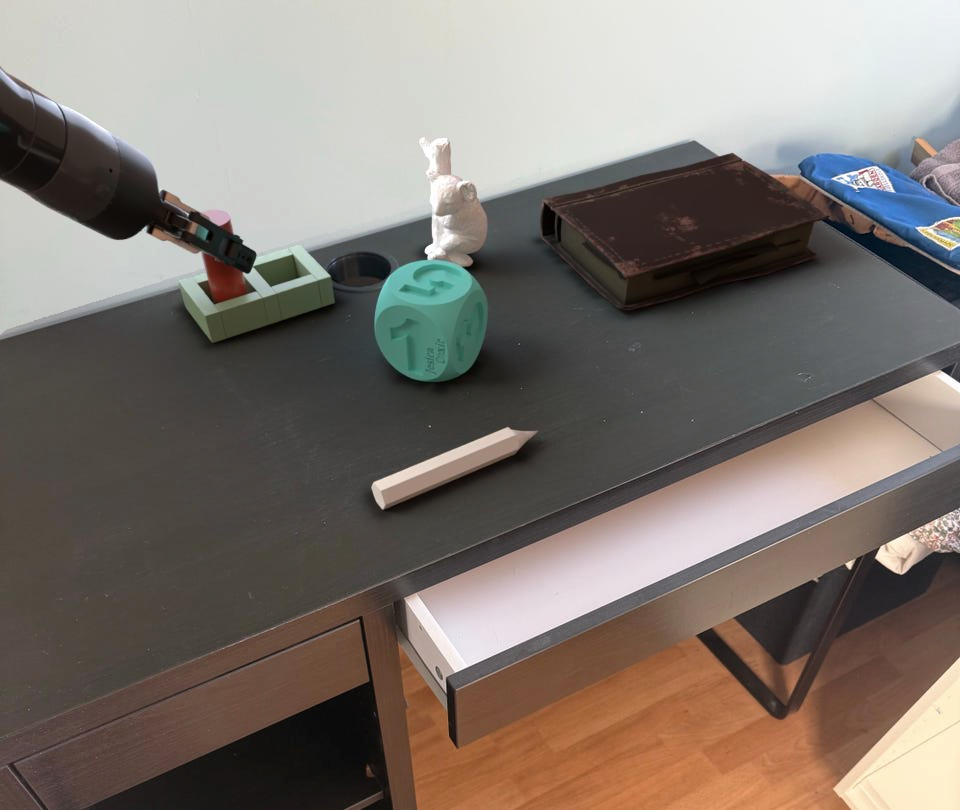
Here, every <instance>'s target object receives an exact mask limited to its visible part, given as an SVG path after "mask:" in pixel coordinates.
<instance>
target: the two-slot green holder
mask: <svg viewBox="0 0 960 810" xmlns="http://www.w3.org/2000/svg"><path fill="white" fill-rule="evenodd" d="M243 275H244V279H245V284H246V288H247V292H248V294H246V295H243V296H240V297H237V298H234V299H230V300H227V301H224V302H221V303H218V304H215V305H214V302H213V298H212V294H211V290H210V286H209V282H208V278H207V275H206V272H203V273H199V274H195V275H193V276H189V277H185V278H183V279H180V280H177V284H178V286H179V290H180V293H181V296H182V301H183V303H184V308H185V309H186V310H187V312H188V313H189V315H191V317H192V318H193V319H194V321H195V322H196V324H197V325H198V326H199V327H200V329H201V330H202V332H203V333H204V335H205V336H207V338H208V340H209V341H210V342H211V343H212V344H213V343H214V344H215V343H217V342H220V341H223V340H226V339H229V338H232V337H235V336H238V335H242V334H245V333H249V332H251V331H253V330H257V329H260V328H264V327H267V326H268V325H272V324H275V323H278V322H281V321H283V320H287V319H290V318H294V317H296V316H300V315H302V314H305V313H309V312H311V311H316V310H318V309H320V308H323V307H327V306H329V305H333V304H335V303H336V301H335V294H334V288H333V281H332V276H331V275H330V274H329V273H328V272H327V271H326V270H325V269H324V268H323V267H322V265H321V264H320V263H319V262H317V260H316V259H315V258H314V257H313V255H311V254H310V253H309V252H308V251H307V250H306V249H305V248H304V247H303V246H302V245H301V244H297V245H294V246H290V247H286V248H283V249H280V250H276V251H273V252H269V253H266V254H263V255H260V256H256V260H255V262H254V265H253V267H252V270H251V272H250V273H249V274H246V273H244V272H243Z"/></svg>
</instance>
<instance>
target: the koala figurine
mask: <svg viewBox="0 0 960 810" xmlns="http://www.w3.org/2000/svg"><path fill="white" fill-rule="evenodd" d="M418 142H419V144H420V146H421V148H422V151H423V153H424V155H425V157H426V158H427V159H428V160H429V168H428V170H426V172H425V173H426V176H427V178H428V181H430V193H431V194H430V196H429V204H430V205H431V207H432V208H431V237H432V243H431V244H429V245H428V246H426V247H425V249H424V254H425V255H427V260H441V261H447V262H451V263H454V264H457V265H459V266H461V267H462V268H466V267H467V268H468V267H471V266H472V264H473V262H474V260H473V259H472V257H471V256H470V255H469V254H474V253H476V252H478V251H479V250H481V248H482V247H483V246H484V244H485V242H486V239H487V236H488V226H489V225H488V217H487V214H486V211H485V210H484V208H483V206H482V204H481V201H480V200H479V197H478V192H477V188H476V186H475V184H474V183H472V181H470V180H463V179H462V177H460V176H458V175H454V174H453V175H452V162H451V161H452V159H451V158H452V149H451V142H450V141H449V138H446V137H443V138H442V137H440V138H437V139H434V141H432V142H431V141H430V140H429V138H428V137H425V136H423V137H421V138H420V139H419V141H418Z"/></svg>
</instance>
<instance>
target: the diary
mask: <svg viewBox="0 0 960 810" xmlns="http://www.w3.org/2000/svg"><path fill="white" fill-rule="evenodd" d="M828 219H830V215H829V214H827V213H826V212H825V211H823V210H822V209H820V208H819V207H817V205H814V204H813V203H812V202H810V201H809V200H808V199H806V198H805V197H804V196H802V195H800V194H799V193H798V192H796V191H795V190H793V189H792V188H790V187H789V186H788V185H786V184H785V183H783V182H782V181H780V180H778V179H777V178H776V177H774V176H772V175H770V174H769V173H767V172H765V171H763V170H762V169H760V168H759V167H757V166H755V165H753V164H751V163H749V162H747V161H746V160H743V159H742V158H741V157H740V156H738V155H737V154H736V153H734V152H730V153H725V154H723V155H718V156H715V157H712V158H708V159H705V160H701V161H698V162H695V163H690V164H687V165H683V166H679V167H674V168H669V169H665V170H659V171H654V172H650V173H645V174H641V175H637V176H633V177H629V178H626V179H622V180H619V181H616V182H612V183H608V184H604V185H601V186H598V187H594V188H590V189H589V188H588V189H585V190H579V191H574V192H570V193H565V194H559V195H555V196H550V197H545V198H543V199H542V201H541V208H540V219H539V222H540V224H539V225H540V226H539V227H540V238H541V240H542V241H544V242H545V243H546V244H547V245H548V246H550V247H551V249H552V250H553V251H554V252H555V253H556V254H557V255H559V257H561V258H562V259H563V260H564V261H565V263H567V264H568V266H570V267H571V268H572V269H573V271H575V272H576V273H577V274H578V275H579V276H580V277H581V278H583V279H584V281H586V282H587V283H588V284H589V285H590V286H591V287H592V288H593V289H594V290H595V291H597V293H598V294H600V296H602V297H603V298H604V299H606V301H608V302H609V303H610V304H612V305H613V306H614V307H615V308H617V309H619V310H625V311H631V310H636V309H639V308H645V307H649V306H652V305H657V304H660V303H664V302H668V301H672V300H675V299H679V298H682V297H685V296H688V295H691V294H693V293H696V292H699V291H702V290H705V289H708V288H711V287H713V286H717V285H720V284H725V283H730V282H734V281H735V282H736V281H740V280H745V279H746V280H747V279H750V278H751V279H752V278H756V277H760V276H766V275H769V274H772V273H775V272H778V271H781V270H784V269H786V268H789V267H792V266H795V265H798V264H800V263H803V262H806V261H810V260H813V259H816V258H817V257H818V254H817V253H815V252H814V251H813V250H811V249H810V248H809V247H808V244H809V241H810V238H811V235H812V231H813V227H814V224H815V223H818V222H821V221H824V220H828Z"/></svg>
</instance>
